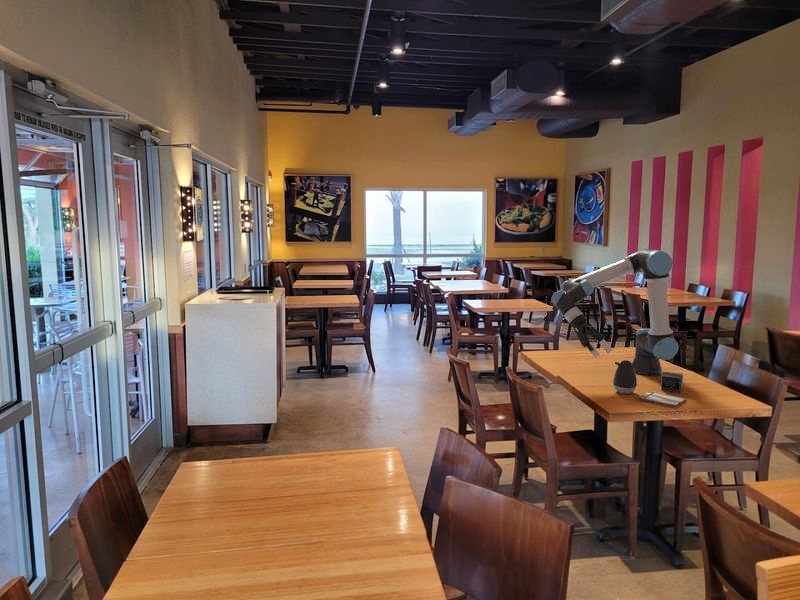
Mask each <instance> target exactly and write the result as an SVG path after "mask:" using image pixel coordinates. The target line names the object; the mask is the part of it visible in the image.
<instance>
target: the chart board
mask: <svg viewBox="0 0 800 600" xmlns="http://www.w3.org/2000/svg"><path fill="white" fill-rule="evenodd" d="M636 400H637V401H639V400H640V401H639V402H643V401H645V402H644V403H648V402H650V403H649V404H653V403H656V404H655V405H658V404H660V405H659V406H663V405H664V407H667V406H668V408H672V407H673V409H676V408H678V407H679V406H680V405H682V404H683V402H684V401H685V402H686V401H687V398H684V397H679V396H674V395H668V394H664V393H658V392H652V391H647V392H646V393H644V394H642V395H640V396H638V397H636ZM685 402H684V403H685ZM681 403H682V404H681ZM678 405H679V406H678Z"/></svg>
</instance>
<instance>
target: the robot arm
mask: <svg viewBox="0 0 800 600" xmlns="http://www.w3.org/2000/svg"><path fill="white" fill-rule="evenodd" d="M673 265H674V263H673V259H672V257H671V256H670V254H669V253H667V252H666V251H663V250H660V249H649V248H648V249H646V248H645V249H642V250H638V251H636V252H633V253H631V254H629V255H626V256H623V258H622V259H621V260H620V261H617V262H615V263H612V264H609V265H607V266H603V267H601V268H600V269H597V270H594V271H592V272H589V273H586V274H584V275H581V276H579V277H577V278H574V279H572V280H571V279H569V280H565V281H563V282H562V284H561V288H560V289H559V290H558V291H556V292H555V293H554V294H553V295H552V296H551V299H550V300H551V302H552V303H553V304H554V305H555V306H554V307H556V308H557V309H558V311H559V312H560V313H561V314H562V316H563V317H564V318H565V320H566V321H567V322H568V323H569V325H570V326H571V327H572V328H573V330H574V332H575V334H576V335H577V338H578V340H579V342H580V345H581V346H583V348H586V349H587V350H588V351H589V352H590V353H591V355H592V356H593V357H594V358H595V359H597V358H598V357H599V356H600V355H601V353H600V352H599V351H598V350H597V348H596V347H595V346H594V345H593V343H592V342H591V343H590V338H589V336H590V337H592V338H593V339H595V340H596V341H598V342H599V345H600V346H601V347H602V348H603V350H604V351H605V352H606V354H610V353H611V352H612V351H613V349H612V348H611V346H610V345H609V344H608V342H607V341H606V340H605V339H606V337H605V335H603V334H602V333H601V332H600V331H599V330H598V329H597V328H596V327H594V326H593V325H592V324H591V323H588V324H587V321H588V319H587V318H586V317H585V315H584V314H582V311H581V310H580V309H579V308H578V306H576V304H578V303H580V302H581V301H582V300H584V299H585V298H588V297H590V295H591V294H592V293H594V291H595V288H596V287H598V286H602V285H604V284H606V283H609V282H611V281H613V280H616V279H619V278H622V277H624V276H627V275H631V276H632V275H635V274H639V273H642V274H643V280H644V281H646V283H647V285H646V286H647V295H648V296H647V297H648V311H649V312H648V313H649V322H650V323H649V324H650V326H649V327H650V328H638V329H637V330H636V334H635V349H634V351H635V353H634V358H633V361H631V363H632V365H633V367H634V369H635V373H636V375H642V376H660V375H661V372H662V371H663V370H662V369H663V368H662V366H661V361H660V360H663V361H667V360H671V359H673V358H674V357H675V356H676V355H677V353H678V352H679V343H678V341H677V340H676V339H675V338H674V331H673V329H671V328H670V318H669V304H668V302H669V301H668V290H667V289H668V287H667V280H668V278H670V272H671V270H672V269H673Z"/></svg>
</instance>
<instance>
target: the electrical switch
mask: <svg viewBox="0 0 800 600" xmlns="http://www.w3.org/2000/svg"><path fill="white" fill-rule="evenodd" d="M660 375H661V376H660V377H661V380H660V389H661V391H663V390H666V391H665V392H670V391H672V392H671V393H676V392H680V391H682V392H683V387H684V386H683V385H684V374H683V373H681V372H673V371H668V370H667V371H666V370H662V372H661V374H660Z"/></svg>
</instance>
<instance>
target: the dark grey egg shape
mask: <svg viewBox="0 0 800 600" xmlns="http://www.w3.org/2000/svg"><path fill="white" fill-rule="evenodd" d="M614 364H615V365H616V366H617V367H616V369H615V372H614V376H613V380H612V385H613V387H614V389H615V391H616V392H617V393H618V394H619V393H620V394H622V395H630V394H633V392H635V391H636V388H637V387H638V381H637V373H635V369H634V367H633V365H632V361H630V360H628V359H624V360H622V361H620V362H617V361H615V362H614Z"/></svg>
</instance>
